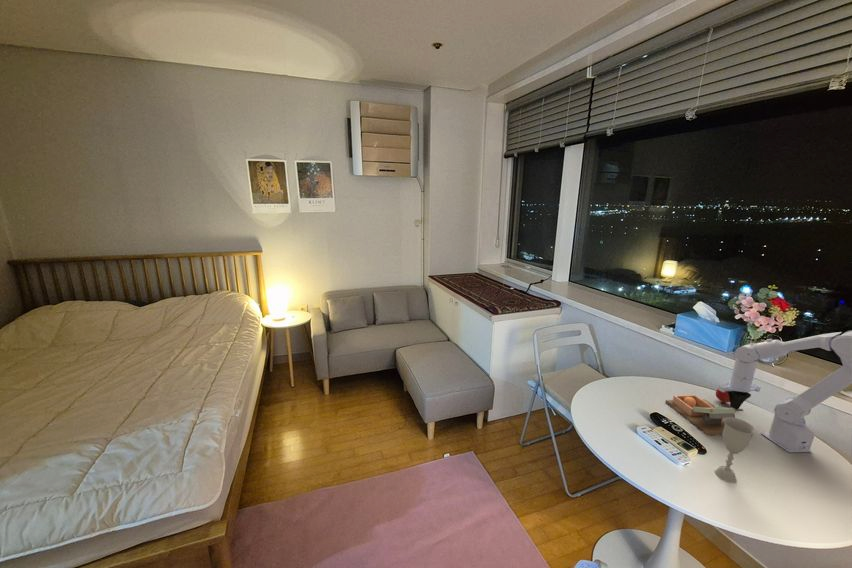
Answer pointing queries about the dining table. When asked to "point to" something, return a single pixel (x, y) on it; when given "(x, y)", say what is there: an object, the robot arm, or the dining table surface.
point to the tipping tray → (718, 411)
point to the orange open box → (686, 408)
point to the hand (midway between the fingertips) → (734, 407)
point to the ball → (690, 401)
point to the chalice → (734, 444)
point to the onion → (722, 396)
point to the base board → (698, 419)
